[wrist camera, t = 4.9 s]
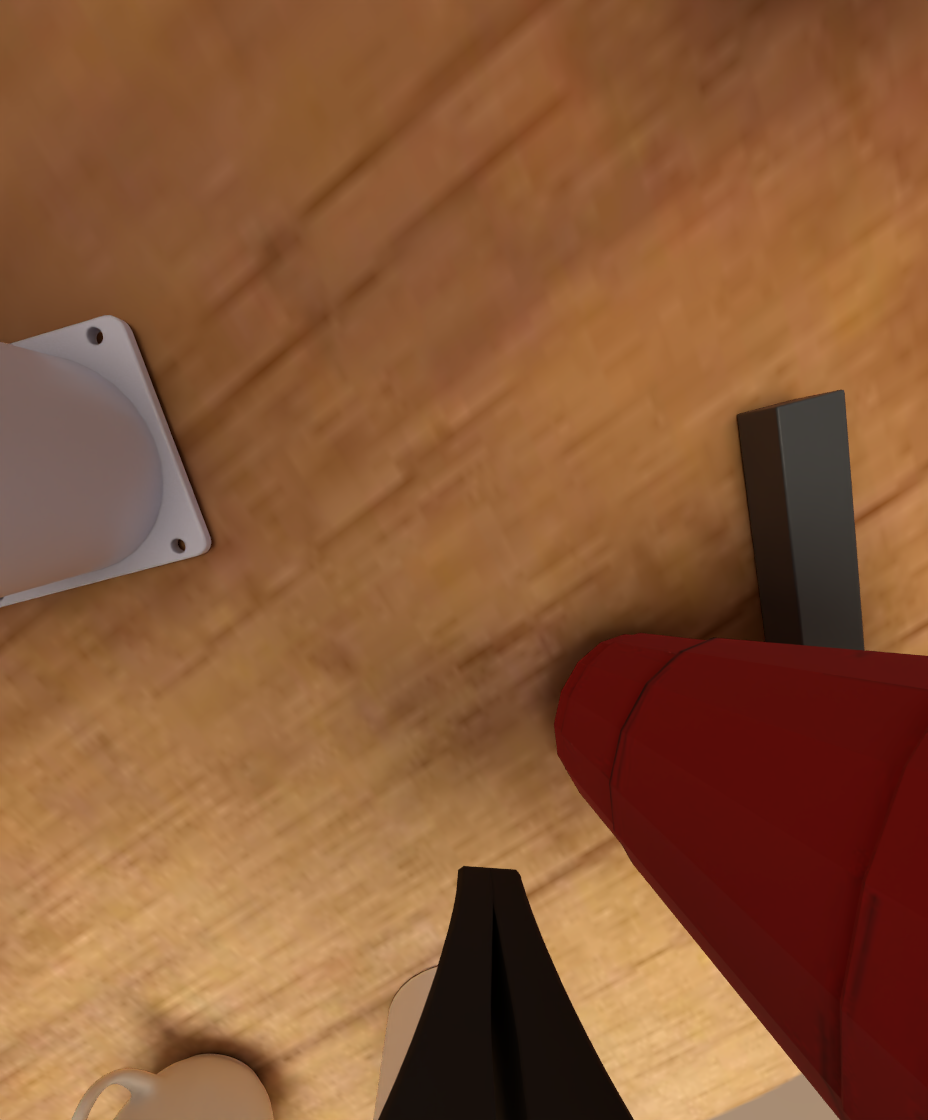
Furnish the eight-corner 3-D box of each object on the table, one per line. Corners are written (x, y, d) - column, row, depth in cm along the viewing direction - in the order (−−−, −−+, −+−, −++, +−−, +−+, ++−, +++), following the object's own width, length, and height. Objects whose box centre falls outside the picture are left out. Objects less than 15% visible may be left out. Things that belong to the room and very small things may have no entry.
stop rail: (790, 849, 19) (828, 894, 17) (735, 414, 15) (776, 406, 13) (839, 839, 18) (883, 883, 16) (795, 398, 15) (845, 388, 13)
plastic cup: (742, 752, 19) (1374, 1059, 8) (545, 918, 15) (1242, 1905, 4) (694, 514, 17) (1512, 509, 6) (443, 642, 13) (1474, 1351, 2)
